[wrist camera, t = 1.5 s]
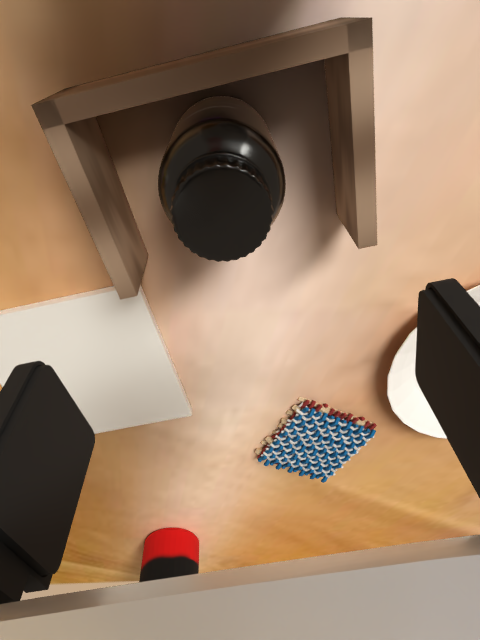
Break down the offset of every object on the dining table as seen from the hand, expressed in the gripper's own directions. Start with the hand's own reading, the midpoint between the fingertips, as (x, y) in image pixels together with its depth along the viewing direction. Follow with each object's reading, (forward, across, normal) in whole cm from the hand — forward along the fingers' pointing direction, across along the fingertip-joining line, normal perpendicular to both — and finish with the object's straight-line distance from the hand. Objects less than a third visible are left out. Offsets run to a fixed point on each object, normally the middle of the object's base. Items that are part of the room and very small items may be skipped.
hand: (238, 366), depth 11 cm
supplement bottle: (+23, 0, 0) cm, 23 cm away
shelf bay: (+22, 0, +1) cm, 22 cm away
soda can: (+22, +19, +50) cm, 58 cm away
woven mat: (+23, -3, +33) cm, 40 cm away
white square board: (+22, +17, +17) cm, 33 cm away
